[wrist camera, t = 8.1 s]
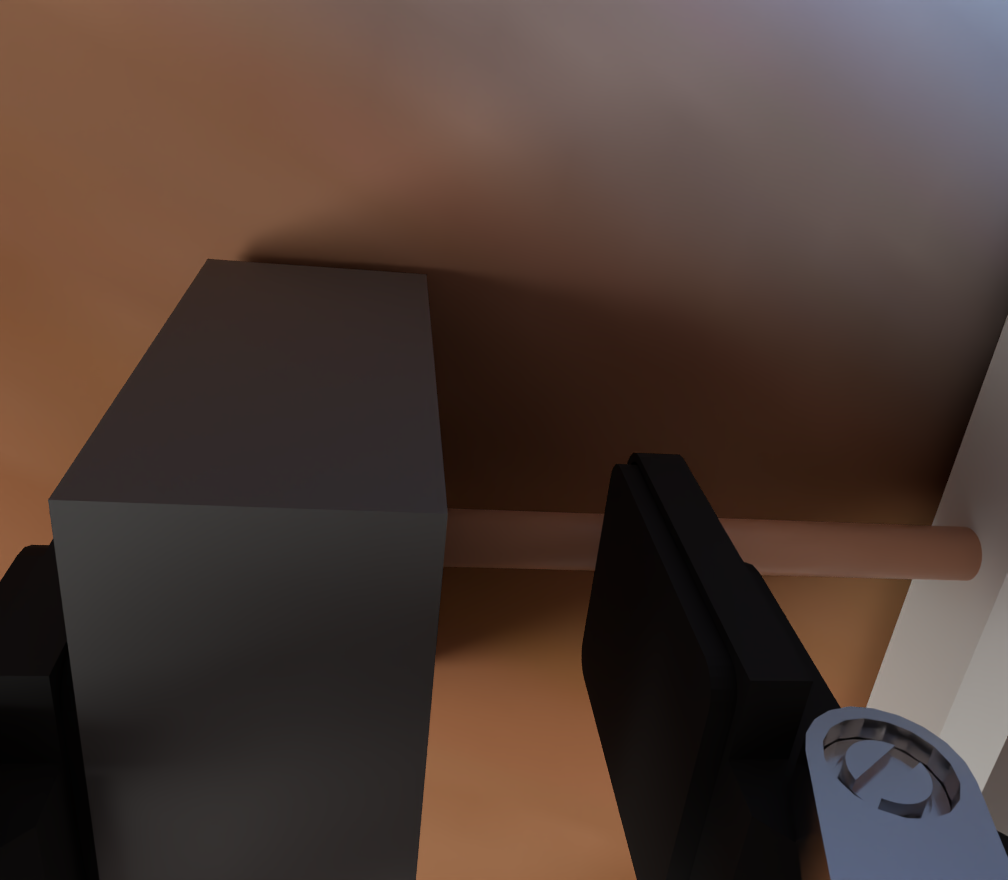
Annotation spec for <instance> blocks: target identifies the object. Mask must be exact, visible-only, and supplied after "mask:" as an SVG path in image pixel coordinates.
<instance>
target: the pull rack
mask: <svg viewBox="0 0 1008 880" xmlns="http://www.w3.org/2000/svg"><path fill="white" fill-rule="evenodd" d="M48 502H49V510H50V517H51V524H52V532H53V539H54V547H55V554H56V561H57V569H58V576H59V584H60V591H61V598H62V606H63V613H64V621H65V628H66V635H67V643H68V650H69V658H70V665H71V672H72V680H73V687H74V695H75V702H76V709H77V717H78V724H79V732H80V739H81V746H82V754H83V761H84V769H85V776H86V783H87V791H88V798H89V806H90V813H91V820H92V828H93V835H94V843H95V850H96V857H97V865H98V872H99V880H416V872H417V860H418V849H419V837H420V826H421V814H422V803H423V792H424V780H425V769H426V757H427V746H428V735H429V723H430V712H431V700H432V689H433V677H434V666H435V655H436V643H437V632H438V620H439V609H440V597H441V586H442V575H443V566H444V567H481V568H518V569H554V570H591V571H595V566H596V560H597V554H598V549H599V543H600V537H601V531H602V525H603V519H604V514H594V513H566V512H538V511H510V510H482V509H454V508H447V499H446V488H445V477H444V466H443V454H442V443H441V432H440V421H439V410H438V399H437V387H436V376H435V365H434V354H433V343H432V331H431V320H430V309H429V298H428V287H427V275H426V274H414V273H400V272H386V271H371V270H357V269H343V268H328V267H314V266H300V265H286V264H271V263H257V262H243V261H228V260H214V259H207V261H206V262H205V264H204V265H203V267H202V268H201V270H200V272H199V273H198V275H197V276H196V278H195V279H194V281H193V282H192V284H191V285H190V287H189V288H188V290H187V291H186V293H185V294H184V296H183V297H182V299H181V300H180V302H179V303H178V305H177V306H176V308H175V309H174V311H173V312H172V314H171V315H170V317H169V318H168V320H167V321H166V323H165V324H164V326H163V327H162V329H161V330H160V332H159V333H158V335H157V336H156V338H155V339H154V341H153V342H152V344H151V345H150V347H149V348H148V350H147V352H146V353H145V355H144V356H143V358H142V359H141V361H140V362H139V364H138V365H137V367H136V368H135V370H134V371H133V373H132V374H131V376H130V377H129V379H128V380H127V382H126V383H125V385H124V386H123V388H122V389H121V391H120V392H119V394H118V395H117V397H116V398H115V400H114V401H113V403H112V404H111V406H110V407H109V409H108V410H107V412H106V413H105V415H104V416H103V418H102V419H101V421H100V422H99V424H98V425H97V427H96V428H95V430H94V432H93V433H92V435H91V436H90V438H89V439H88V441H87V442H86V444H85V445H84V447H83V448H82V450H81V451H80V453H79V454H78V456H77V457H76V459H75V460H74V462H73V463H72V465H71V466H70V468H69V469H68V471H67V472H66V474H65V475H64V477H63V478H62V480H61V481H60V483H59V484H58V486H57V487H56V489H55V490H54V492H53V493H52V495H51V496H50V498H49V499H48ZM718 519H719V521H720V522H721V524H722V526H723V527H724V529H725V531H726V533H727V534H728V536H729V538H730V539H731V541H732V543H733V545H734V546H735V548H736V550H737V551H738V553H739V555H740V556H741V558H742V560H743V562H746V563H749V564H752V565H753V566H754V567H755V568H756V569H757V570H758V571H759V573H760V574H761V575H775V576H812V577H848V578H885V579H912V582H911V584H910V587H909V590H908V593H907V595H906V598H905V601H904V604H903V607H902V609H901V612H900V615H899V618H898V620H897V623H896V626H895V629H894V631H893V634H892V637H891V640H890V643H889V645H888V648H887V651H886V654H885V656H884V659H883V662H882V665H881V667H880V670H879V673H878V676H877V679H876V681H875V684H874V687H873V690H872V692H871V695H870V698H869V701H868V704H867V706H866V708H874V709H878V710H881V711H885V712H889V713H892V714H896V715H899V716H901V717H903V718H906V719H908V720H910V721H912V722H914V723H916V724H918V725H921V726H923V727H924V728H926V729H927V730H929V731H930V732H932V733H933V734H935V735H936V736H937V737H939V738H940V739H942V740H943V741H945V742H946V743H947V744H948V745H949V746H950V747H951V748H952V749H953V750H954V751H955V752H956V753H957V754H958V755H959V756H960V757H961V758H962V759H963V760H964V761H965V762H966V764H967V766H968V767H969V769H970V771H971V772H972V774H973V776H974V777H975V779H976V781H977V783H978V785H979V788H980V790H981V793H982V795H983V798H984V800H985V803H986V805H987V807H988V810H989V812H990V815H991V817H992V820H993V822H994V825H995V827H996V830H997V831H999V832H1001V833H1003V834H1005V835H1007V836H1008V738H1007V736H1008V316H1007V318H1006V321H1005V324H1004V327H1003V329H1002V332H1001V335H1000V338H999V340H998V343H997V346H996V349H995V352H994V354H993V357H992V360H991V363H990V365H989V368H988V371H987V374H986V376H985V379H984V382H983V385H982V388H981V390H980V393H979V396H978V399H977V401H976V404H975V407H974V410H973V413H972V415H971V418H970V421H969V424H968V426H967V429H966V432H965V435H964V437H963V440H962V443H961V446H960V449H959V451H958V454H957V457H956V460H955V462H954V465H953V468H952V471H951V473H950V476H949V479H948V482H947V485H946V487H945V490H944V493H943V496H942V498H941V501H940V504H939V507H938V510H937V512H936V515H935V518H934V521H933V523H932V526H929V525H901V524H873V523H845V522H817V521H789V520H761V519H733V518H718Z"/></svg>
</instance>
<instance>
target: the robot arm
mask: <svg viewBox="0 0 1008 880" xmlns="http://www.w3.org/2000/svg"><path fill="white" fill-rule="evenodd" d="M582 670H583V675H584V680H585V683H586V687H587V691H588V695H589V699H590V702H591V706H592V710H593V714H594V718H595V722H596V725H597V729H598V733H599V737H600V741H601V744H602V748H603V752H604V756H605V760H606V763H607V767H608V771H609V775H610V779H611V783H612V786H613V790H614V794H615V798H616V802H617V805H618V809H619V813H620V817H621V821H622V824H623V828H624V832H625V836H626V840H627V843H628V847H629V851H630V855H631V859H632V863H633V866H634V870H635V874H636V878H637V880H1008V836H1007V835H1005V834H1003V833H1001V832H999V831H997V830H996V827H995V825H994V822H993V820H992V817H991V815H990V812H989V810H988V807H987V805H986V803H985V800H984V798H983V795H982V793H981V790H980V788H979V785H978V783H977V781H976V779H975V777H974V776H973V774H972V772H971V771H970V769H969V767H968V766H967V764H966V762H965V761H964V760H963V759H962V758H961V757H960V756H959V755H958V754H957V753H956V752H955V751H954V750H953V749H952V748H951V747H950V746H949V745H948V744H947V743H946V742H945V741H943V740H942V739H940V738H939V737H937V736H936V735H935V734H933V733H932V732H930V731H929V730H927V729H926V728H924V727H923V726H921V725H918V724H916V723H914V722H912V721H910V720H908V719H906V718H903V717H901V716H899V715H896V714H892V713H889V712H885V711H881V710H878V709H874V708H862V707H845V708H840V706H839V704H838V703H837V701H836V699H835V698H834V696H833V694H832V693H831V691H830V689H829V688H828V686H827V684H826V683H825V681H824V679H823V678H822V676H821V674H820V673H819V671H818V669H817V668H816V666H815V664H814V663H813V661H812V659H811V658H810V656H809V654H808V653H807V651H806V649H805V648H804V646H803V644H802V643H801V641H800V639H799V638H798V636H797V634H796V633H795V631H794V629H793V628H792V626H791V624H790V623H789V621H788V619H787V618H786V616H785V614H784V613H783V611H782V609H781V608H780V606H779V604H778V603H777V601H776V599H775V598H774V596H773V594H772V593H771V591H770V589H769V588H768V586H767V584H766V583H765V581H764V579H763V578H762V576H761V574H760V573H759V571H758V570H757V569H756V568H755V567H754V566H753V565H752V564H749V563H746V562H743V560H742V558H741V556H740V555H739V553H738V551H737V550H736V548H735V546H734V545H733V543H732V541H731V539H730V538H729V536H728V534H727V533H726V531H725V529H724V527H723V526H722V524H721V522H720V521H719V519H718V517H717V515H716V514H715V512H714V510H713V509H712V507H711V505H710V503H709V502H708V500H707V498H706V497H705V495H704V493H703V491H702V490H701V488H700V486H699V485H698V483H697V481H696V480H695V478H694V476H693V474H692V473H691V471H690V469H689V468H688V466H687V464H686V462H685V461H684V459H683V458H682V457H681V456H680V455H673V454H649V453H633V454H632V455H631V456H630V458H629V460H628V463H627V464H616V465H615V466H614V467H613V470H612V473H611V478H610V484H609V489H608V495H607V501H606V507H605V513H604V519H603V525H602V531H601V537H600V543H599V549H598V554H597V560H596V566H595V572H594V578H593V584H592V590H591V596H590V602H589V608H588V614H587V619H586V625H585V631H584V637H583V644H582ZM0 880H99V872H98V865H97V857H96V850H95V843H94V835H93V828H92V820H91V813H90V806H89V798H88V791H87V783H86V776H85V769H84V761H83V754H82V746H81V739H80V732H79V724H78V717H77V709H76V702H75V695H74V687H73V680H72V672H71V665H70V658H69V650H68V643H67V635H66V628H65V621H64V613H63V606H62V598H61V591H60V584H59V576H58V569H57V561H56V554H55V547H54V539H53V540H52V542H51V543H50V545H30V546H27V547H24V548H23V550H22V551H21V552H20V553H19V554H18V555H17V557H16V558H15V560H14V561H13V563H12V564H11V566H10V567H9V569H8V570H7V572H6V573H5V575H4V577H3V578H2V580H1V581H0Z"/></svg>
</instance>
